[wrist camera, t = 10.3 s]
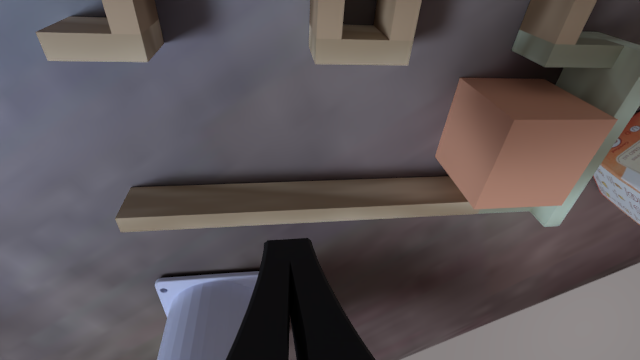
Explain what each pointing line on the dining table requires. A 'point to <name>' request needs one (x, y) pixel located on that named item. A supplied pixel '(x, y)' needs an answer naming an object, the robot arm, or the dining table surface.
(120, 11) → the trap lane
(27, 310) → the dining table surface
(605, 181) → the cracker box
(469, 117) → the block
